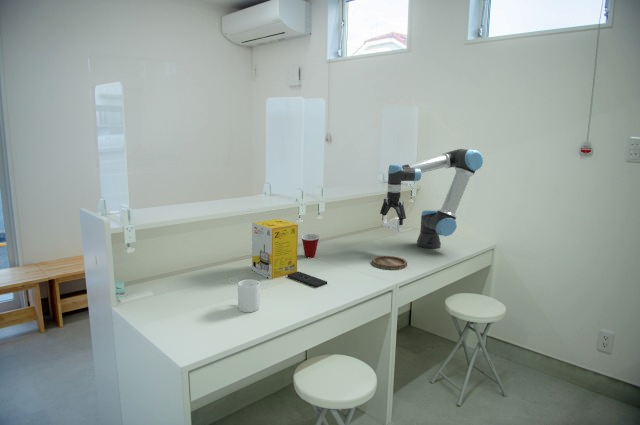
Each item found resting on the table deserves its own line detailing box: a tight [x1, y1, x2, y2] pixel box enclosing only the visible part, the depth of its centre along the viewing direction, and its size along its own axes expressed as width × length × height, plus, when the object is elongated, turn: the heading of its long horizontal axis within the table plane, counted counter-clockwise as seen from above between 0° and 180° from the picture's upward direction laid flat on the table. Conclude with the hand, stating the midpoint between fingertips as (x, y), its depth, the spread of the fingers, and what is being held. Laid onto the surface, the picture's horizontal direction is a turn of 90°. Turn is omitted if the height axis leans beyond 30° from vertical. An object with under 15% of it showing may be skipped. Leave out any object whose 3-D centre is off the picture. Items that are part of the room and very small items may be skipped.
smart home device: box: [286, 271, 328, 289], centre depth 204 cm, size 8×2×20 cm
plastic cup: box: [300, 233, 320, 259], centre depth 242 cm, size 11×11×12 cm
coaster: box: [371, 255, 408, 271], centre depth 233 cm, size 18×18×2 cm
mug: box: [237, 279, 261, 313], centre depth 171 cm, size 9×12×11 cm
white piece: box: [382, 216, 399, 233], centre depth 249 cm, size 6×8×12 cm
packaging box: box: [251, 218, 299, 280], centre depth 213 cm, size 16×16×25 cm
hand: (391, 228), depth 249 cm, fingers closed on white piece, 12 cm apart
